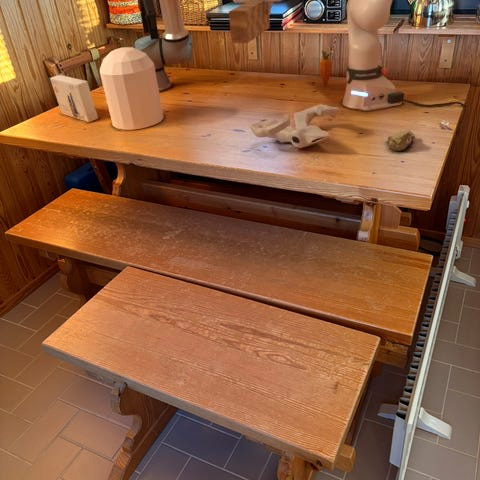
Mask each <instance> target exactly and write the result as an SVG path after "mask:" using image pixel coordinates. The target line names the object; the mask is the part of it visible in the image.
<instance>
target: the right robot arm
mask: <svg viewBox="0 0 480 480" xmlns="http://www.w3.org/2000/svg"><path fill="white" fill-rule="evenodd" d="M232 1H233V3H234V4H245V3H247V2H249V1H265V2H268V5H269V8H268V9H267V10H266V15H269V16H270V15H271V13H272V12H271V9H273V5H274V3H275V2H282V1H283V0H232ZM392 3H393V0H347V3H346V5H345V6H346V16H347V17H346V18H347V33H348V35H347V36H348V46H349V47H348V62H347V63H348V65H347V67H346V72H345V73H346V74H345V77H346V78H345V81H346V87H345V91H344V96H343V99H342V102H341V103H342V106H343V107H346V108H349V109H355V110H361V111H364V112H369V111H375V110H380V109H385V108H391V107H397V106H401V105H402V103H403V102H404V103H409V104H412V105H415V106H419V107H426V108H427V107H438V106H439V107H441V106H448V105H454V104H455V105H460V106H462V107H463V108H466V107H467V106H466V105H465V104H464V103H462V102H460V101H449V102H444V103H433V104H424V103H419V102H414V101H412V100H408V99H404V97H405V93H404V92H402V91H397V89H396V86H395V84H394V83H393V82H392V81H391V80H389V79H388V78H387V77H385V76H384V75H386V74H387V73H388V69H387V68H386V67H383V66H381V65H379V63H380V62H379V61H380V52H381V51H380V49H381V42H380V37H379V36H380V35H379V30H380V29H381V28H383V27H384V26H385V25H387V23H388V21H389V19H390V15H391V6H392Z"/></svg>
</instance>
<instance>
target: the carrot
mask: <svg viewBox="0 0 480 480" xmlns="http://www.w3.org/2000/svg"><path fill="white" fill-rule="evenodd" d="M321 53H322V56H321V57H322V59H320V61H319V73H320V77H321V78H320V79H321V82H322V83H323V86H327V84H328V83H329V81H330V78H331V73H332V63H333V62H332V59H330V58H329V57H330V55H331V53H332V50H329V51H328V53H327V51H326V50H324V49H323V50H322V51H321Z"/></svg>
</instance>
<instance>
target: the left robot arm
mask: <svg viewBox="0 0 480 480" xmlns="http://www.w3.org/2000/svg"><path fill="white" fill-rule="evenodd" d="M158 1H159V7H160V11H161V12H160V13H161V16H162V21H163V27H164V32H163V33H162V37H160V35H159V30H158V29H159V28H158V24H157V23H158V22H157V17H156V16H157V11H156V8H155V3H154V0H137V5H138V6H137V8H138V10H139V13H140V18H141V24H142V29H143V30H142V31H143V34H147V33H149V35H146V36H142V37H140V38H138V39H137V40H135V42H134V48H135V49H137V50H140V51H142V52H144V53H146V54H147V56H148V57H149V58H150V59H151V60H152V61H153V63H154V67H155V73H156V78H157V84H158V89H159V93H160V92H165V91H166V90H169V89H170V88H171V87H172V83H171V79H170V78H169V75H168V74H167V71H166V69H165V66H167V65H168V66H169V65H179V64H182V65H183V64H188V63H192V61H193V57H194V53H193V52H194V49H193V48H194V42H193V41H194V40H193V39H194V38H193V36H192V35H191V34H189V31H188V30H187V28H185V25H184V19H183V13H182V7H181V1H180V0H158Z"/></svg>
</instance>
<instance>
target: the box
mask: <svg viewBox="0 0 480 480" xmlns="http://www.w3.org/2000/svg"><path fill="white" fill-rule="evenodd" d="M269 6H270V5H268V2H265V1H249V2H247V3H245V4H244V3H242V4H241V5H239V6H236V7H235V8H233V9H231V10H229V11H228V17H229V29H230V39H231V45H232V44H233V45H234V44H249V43H250V42H252V41H253V40H255V39H256V38H257V37H259V36H261V35H262V34H263V33H264V32H266V31H267V30H269V29H270V28H271V25H270V24H271V20H270V15H266V10H267V9H268V8H269Z"/></svg>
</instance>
